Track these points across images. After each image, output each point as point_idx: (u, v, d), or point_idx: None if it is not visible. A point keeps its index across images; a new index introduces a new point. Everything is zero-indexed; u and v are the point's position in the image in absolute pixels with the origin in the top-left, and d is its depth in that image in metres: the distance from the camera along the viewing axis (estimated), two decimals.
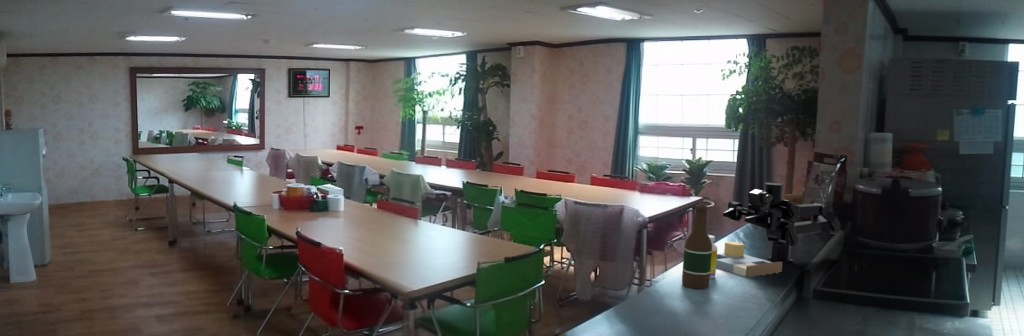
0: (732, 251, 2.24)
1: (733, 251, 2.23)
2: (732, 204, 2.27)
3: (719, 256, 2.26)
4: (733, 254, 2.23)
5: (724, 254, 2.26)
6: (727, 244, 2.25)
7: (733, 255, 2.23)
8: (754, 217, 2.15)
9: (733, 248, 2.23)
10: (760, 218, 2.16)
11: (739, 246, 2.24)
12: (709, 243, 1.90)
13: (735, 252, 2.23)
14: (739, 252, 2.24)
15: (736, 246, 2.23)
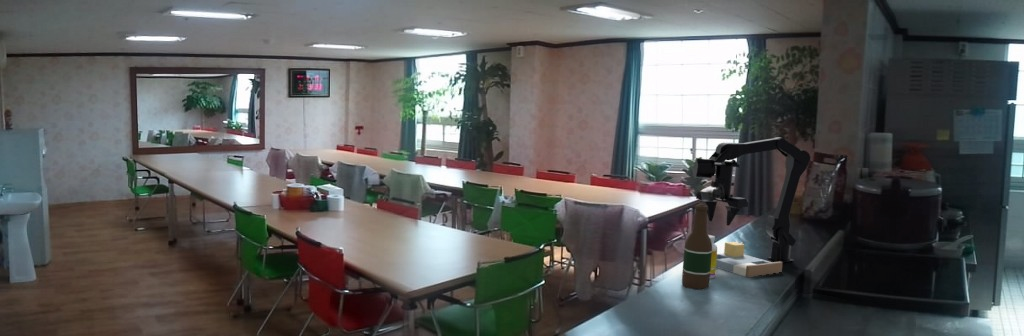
0: (732, 251, 2.24)
1: (733, 251, 2.23)
2: (702, 202, 2.34)
3: (719, 256, 2.26)
4: (733, 254, 2.23)
5: (724, 254, 2.26)
6: (727, 244, 2.25)
7: (733, 255, 2.23)
8: (729, 217, 2.26)
9: (733, 248, 2.23)
10: (731, 209, 2.26)
11: (739, 246, 2.24)
12: (709, 243, 1.90)
13: (735, 252, 2.23)
14: (739, 252, 2.24)
15: (736, 246, 2.23)
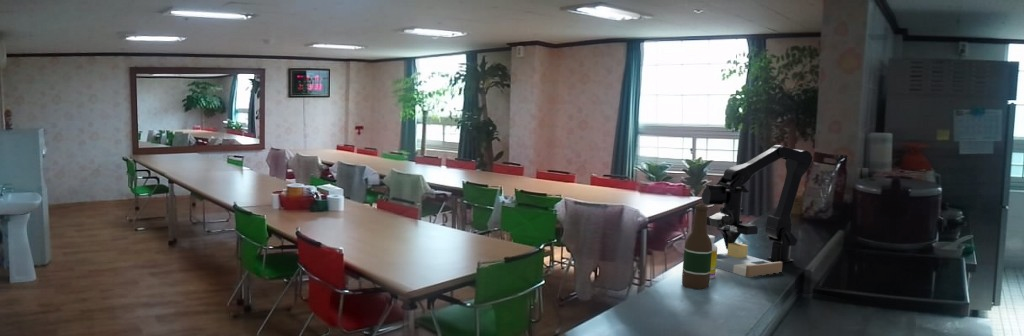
0: (735, 252, 2.22)
1: (737, 251, 2.22)
2: (719, 230, 2.28)
3: (719, 256, 2.26)
4: (736, 255, 2.22)
5: (724, 254, 2.26)
6: (731, 245, 2.24)
7: (737, 256, 2.22)
8: (730, 241, 2.26)
9: (736, 249, 2.22)
10: (732, 233, 2.26)
11: (742, 247, 2.22)
12: (709, 243, 1.90)
13: (738, 253, 2.22)
14: (742, 253, 2.23)
15: (739, 247, 2.22)
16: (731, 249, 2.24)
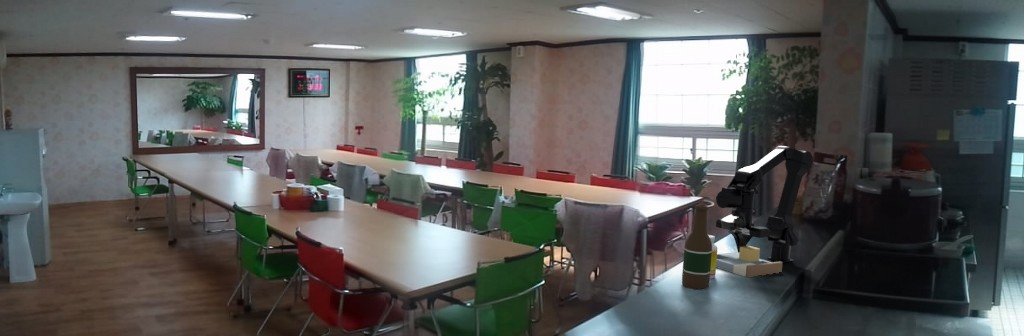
0: (747, 255, 2.18)
1: (749, 255, 2.18)
2: (731, 233, 2.23)
3: (719, 256, 2.26)
4: (748, 258, 2.18)
5: (724, 254, 2.26)
6: (742, 248, 2.20)
7: (749, 260, 2.18)
8: (742, 244, 2.22)
9: (748, 252, 2.18)
10: (744, 236, 2.22)
11: (754, 250, 2.18)
12: (709, 243, 1.90)
13: (750, 257, 2.17)
14: (754, 256, 2.18)
15: (751, 250, 2.17)
16: (743, 252, 2.20)
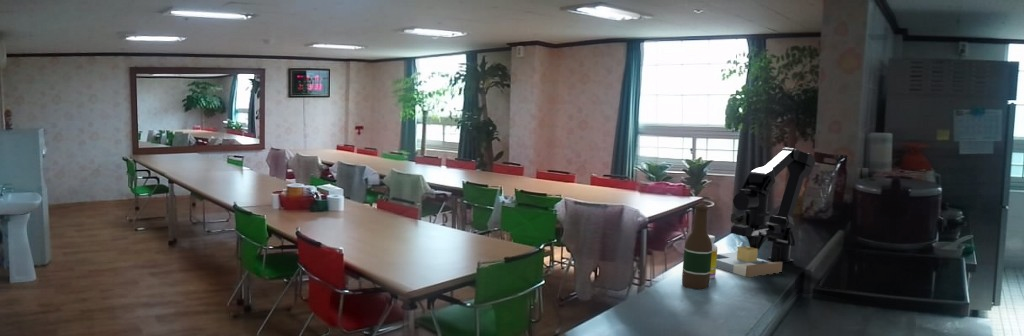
0: (745, 255, 2.18)
1: (747, 255, 2.17)
2: None
3: (719, 256, 2.26)
4: (746, 259, 2.17)
5: (724, 254, 2.26)
6: (740, 248, 2.19)
7: (746, 260, 2.17)
8: (750, 244, 2.22)
9: (746, 252, 2.17)
10: (752, 237, 2.21)
11: (752, 250, 2.17)
12: (709, 243, 1.90)
13: (748, 257, 2.17)
14: (752, 257, 2.18)
15: (749, 250, 2.17)
16: (741, 253, 2.19)
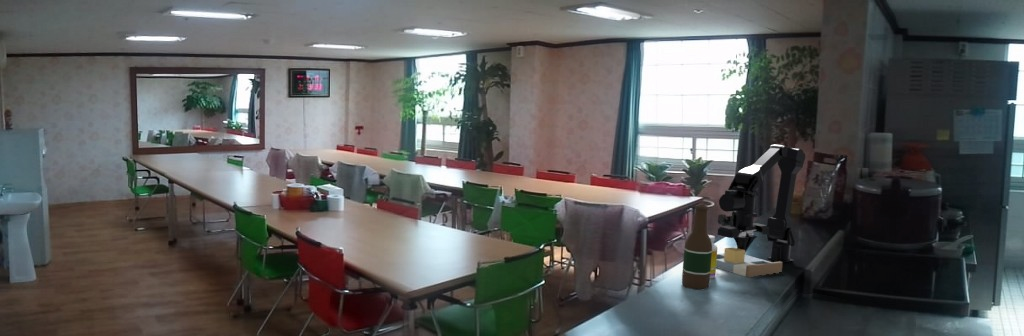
0: (732, 257, 2.15)
1: (734, 257, 2.14)
2: None
3: (719, 256, 2.26)
4: (733, 260, 2.14)
5: None
6: (727, 249, 2.16)
7: (733, 261, 2.14)
8: (737, 246, 2.19)
9: (733, 254, 2.14)
10: (739, 238, 2.18)
11: (739, 252, 2.14)
12: (709, 243, 1.90)
13: (735, 258, 2.14)
14: (739, 258, 2.15)
15: (736, 252, 2.14)
16: (728, 254, 2.16)
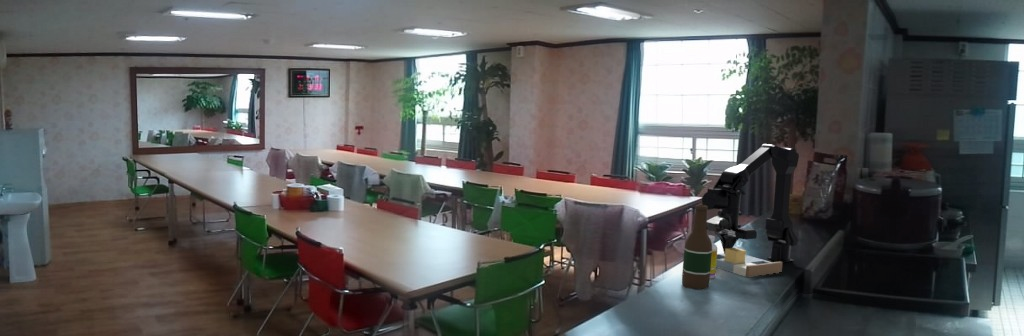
0: (732, 257, 2.14)
1: (734, 257, 2.14)
2: (717, 234, 2.20)
3: (719, 256, 2.26)
4: (734, 260, 2.14)
5: (724, 254, 2.26)
6: (728, 250, 2.16)
7: (734, 262, 2.14)
8: (728, 246, 2.18)
9: (734, 254, 2.14)
10: (730, 238, 2.18)
11: (740, 252, 2.14)
12: (709, 243, 1.90)
13: (735, 259, 2.13)
14: (740, 258, 2.14)
15: (737, 252, 2.13)
16: (728, 254, 2.16)
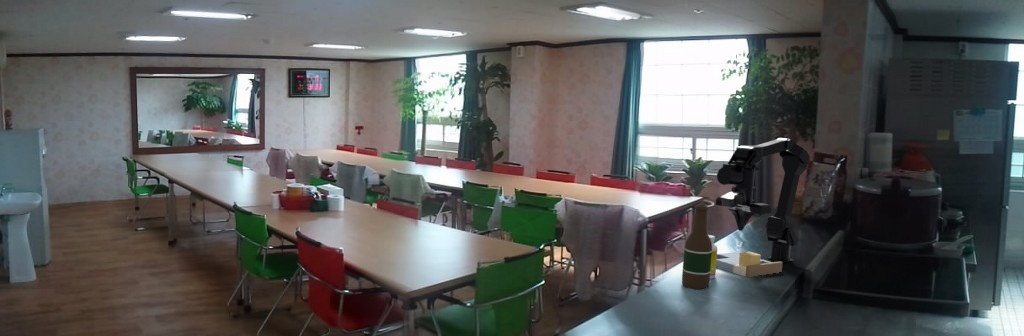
0: (747, 262, 2.09)
1: (749, 261, 2.08)
2: (731, 210, 2.20)
3: (719, 256, 2.26)
4: None
5: (724, 254, 2.26)
6: (743, 254, 2.11)
7: None
8: (742, 222, 2.18)
9: (749, 258, 2.09)
10: (744, 213, 2.18)
11: (755, 256, 2.09)
12: (709, 243, 1.90)
13: (750, 263, 2.08)
14: (755, 263, 2.09)
15: (752, 256, 2.08)
16: (743, 259, 2.11)
